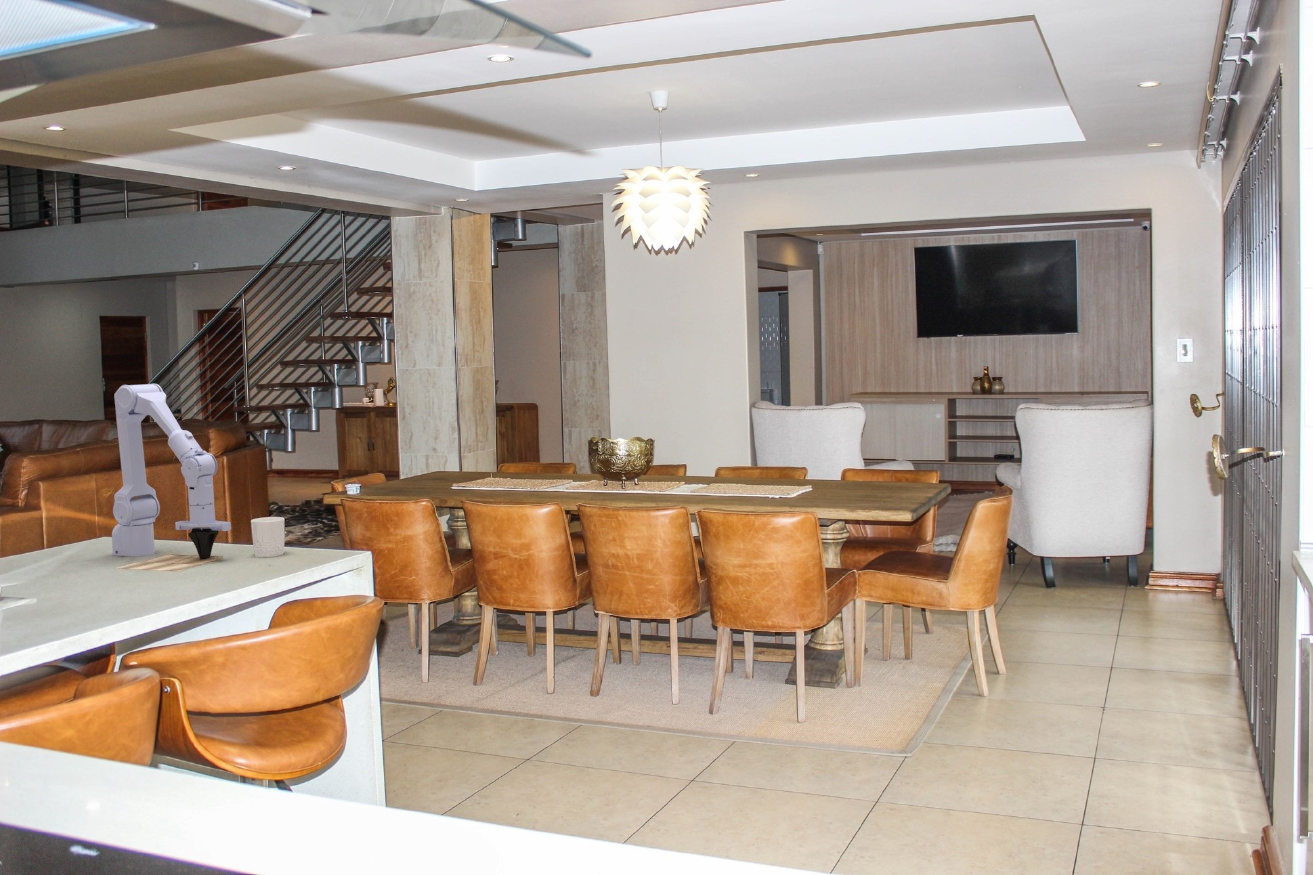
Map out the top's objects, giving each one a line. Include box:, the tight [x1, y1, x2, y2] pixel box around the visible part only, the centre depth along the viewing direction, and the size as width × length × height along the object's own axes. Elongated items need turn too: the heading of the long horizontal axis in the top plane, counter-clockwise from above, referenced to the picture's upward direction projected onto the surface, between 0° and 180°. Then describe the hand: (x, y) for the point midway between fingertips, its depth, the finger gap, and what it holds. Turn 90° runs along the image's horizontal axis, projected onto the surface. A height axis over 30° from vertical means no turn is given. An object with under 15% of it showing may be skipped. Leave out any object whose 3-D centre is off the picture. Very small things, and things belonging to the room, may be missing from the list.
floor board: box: [115, 561, 201, 573], centre depth 269 cm, size 18×8×1 cm, turn 73°
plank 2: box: [174, 554, 224, 566], centre depth 276 cm, size 8×8×1 cm
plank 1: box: [143, 553, 195, 563], centre depth 278 cm, size 8×8×1 cm
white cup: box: [250, 516, 285, 558], centre depth 282 cm, size 8×8×10 cm
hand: (205, 559), depth 277 cm, fingers closed, pressing on plank 2
